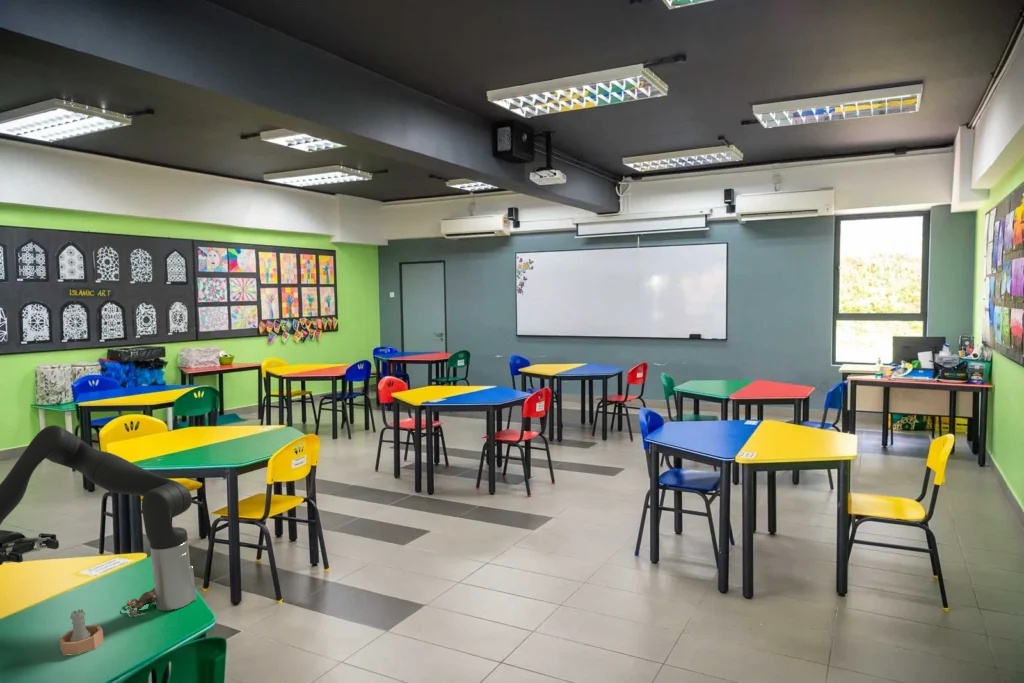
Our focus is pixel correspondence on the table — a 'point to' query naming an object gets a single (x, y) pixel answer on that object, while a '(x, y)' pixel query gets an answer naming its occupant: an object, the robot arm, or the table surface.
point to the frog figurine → (141, 602)
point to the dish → (82, 645)
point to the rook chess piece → (79, 626)
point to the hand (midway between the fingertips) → (39, 551)
